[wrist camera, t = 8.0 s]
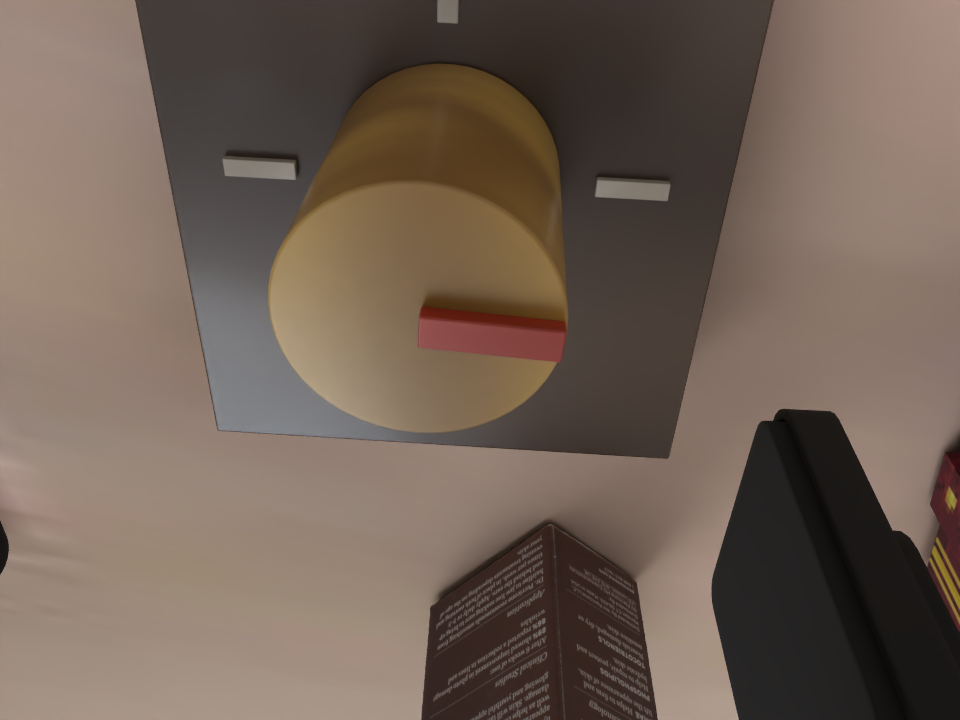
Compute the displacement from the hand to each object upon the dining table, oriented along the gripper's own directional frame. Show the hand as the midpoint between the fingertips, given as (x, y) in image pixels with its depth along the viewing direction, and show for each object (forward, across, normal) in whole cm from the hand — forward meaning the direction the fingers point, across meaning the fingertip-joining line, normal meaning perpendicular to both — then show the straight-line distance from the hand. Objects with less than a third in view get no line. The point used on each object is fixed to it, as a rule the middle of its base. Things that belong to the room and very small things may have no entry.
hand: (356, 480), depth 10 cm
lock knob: (+8, -1, 0) cm, 8 cm away
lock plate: (+11, -1, 0) cm, 11 cm away
